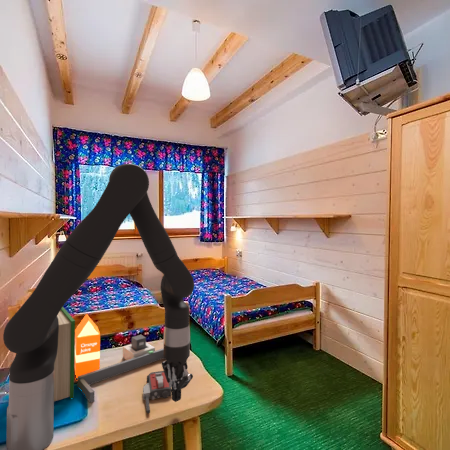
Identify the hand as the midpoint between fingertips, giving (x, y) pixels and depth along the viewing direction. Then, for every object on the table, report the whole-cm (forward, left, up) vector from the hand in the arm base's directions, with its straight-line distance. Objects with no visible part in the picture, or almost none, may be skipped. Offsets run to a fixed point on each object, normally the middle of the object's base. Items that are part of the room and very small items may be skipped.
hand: (176, 399), depth 86 cm
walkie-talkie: (+1, +11, -4) cm, 12 cm away
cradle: (0, +27, -3) cm, 27 cm away
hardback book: (-23, +35, -4) cm, 42 cm away
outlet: (+8, +37, -3) cm, 38 cm away
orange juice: (-11, +40, -4) cm, 41 cm away
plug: (+8, +37, -3) cm, 38 cm away
